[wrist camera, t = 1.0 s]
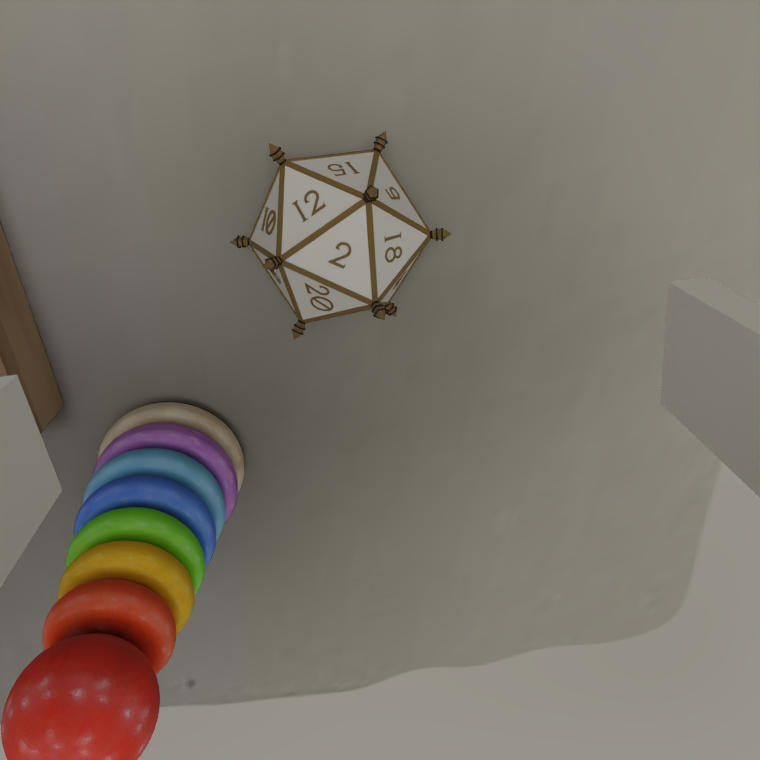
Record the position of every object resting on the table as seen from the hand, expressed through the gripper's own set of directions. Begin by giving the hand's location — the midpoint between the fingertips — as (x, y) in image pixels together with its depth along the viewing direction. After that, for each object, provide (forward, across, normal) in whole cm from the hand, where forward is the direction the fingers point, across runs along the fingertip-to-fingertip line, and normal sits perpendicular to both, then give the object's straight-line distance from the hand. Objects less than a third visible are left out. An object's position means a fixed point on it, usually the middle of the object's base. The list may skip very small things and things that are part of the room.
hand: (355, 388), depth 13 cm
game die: (+21, 0, -1) cm, 21 cm away
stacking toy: (+21, -11, -13) cm, 27 cm away
